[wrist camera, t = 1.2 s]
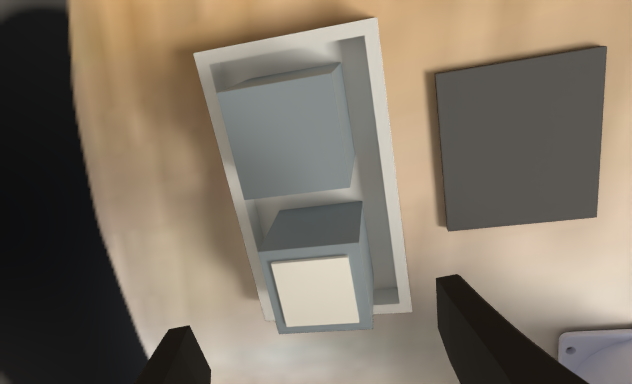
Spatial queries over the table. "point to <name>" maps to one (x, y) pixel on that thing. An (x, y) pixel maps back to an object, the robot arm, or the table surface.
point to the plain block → (290, 132)
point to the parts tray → (368, 136)
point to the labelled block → (319, 269)
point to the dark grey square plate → (522, 139)
